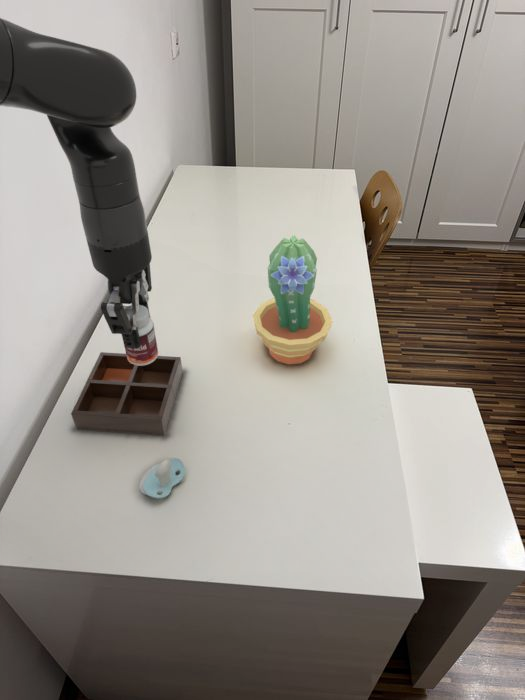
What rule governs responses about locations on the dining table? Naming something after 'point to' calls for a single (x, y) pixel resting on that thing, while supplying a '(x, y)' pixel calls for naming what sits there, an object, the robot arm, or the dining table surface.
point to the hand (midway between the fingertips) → (138, 334)
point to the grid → (128, 395)
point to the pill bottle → (143, 340)
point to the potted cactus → (292, 304)
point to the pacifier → (162, 478)
